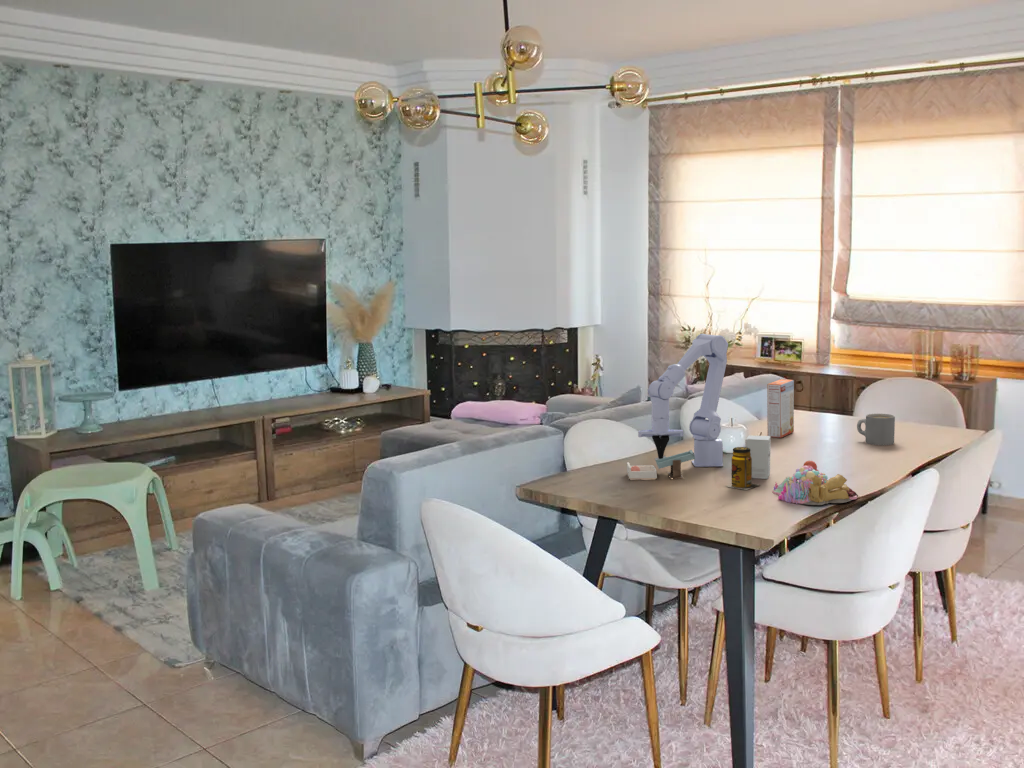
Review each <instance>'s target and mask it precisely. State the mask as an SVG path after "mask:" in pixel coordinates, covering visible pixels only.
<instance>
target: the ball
mask: <svg viewBox="0 0 1024 768" xmlns="http://www.w3.org/2000/svg"><path fill="white" fill-rule="evenodd" d="M632 466H633V467H631V471H640V468H639V467H638V466H639V465H632Z"/></svg>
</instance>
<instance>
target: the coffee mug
mask: <svg viewBox="0 0 1024 768" xmlns="http://www.w3.org/2000/svg"><path fill="white" fill-rule="evenodd" d="M863 423H864V425H865V426H864V427H865V428H864V430H863V429H862V424H863ZM895 427H896V416H895V415H894V414H889V413H869V414H866V415H865V418H860V419H859V420H858V421H857V424H856V429H857V432H858V433H859V434H860V435H862V436H864V439H865V440H864V441H865V442H864V443H866V444H869V445H872V446H873V445H875V446H892V445H894V444H895V431H896V430H895Z"/></svg>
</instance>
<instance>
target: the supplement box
mask: <svg viewBox="0 0 1024 768" xmlns="http://www.w3.org/2000/svg"><path fill="white" fill-rule="evenodd" d="M771 438H772V437H771V436H767V435H747V437H746V438H745V439H744V440H745V446H744V447H747V448H750V450H751V451H750V453H751V455H750V456H751V458H752V479H759V480H761V479H762V480H768V479H769V476H770V474H771Z"/></svg>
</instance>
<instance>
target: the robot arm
mask: <svg viewBox="0 0 1024 768" xmlns="http://www.w3.org/2000/svg"><path fill="white" fill-rule="evenodd" d="M728 347H729V343H728V341H727V340H726V337H724V336H723V335H721V334H718V335H717V334H709V333H707V334H705V333H700V334H698V335H697V336H696V337H695V338H694V339H693V340H692V343H691V346H690V347H689V348H688V349H687V351H686V352H685V353H684V354H683V356H682V357H681V358H680V360H679V361H678V362H677V363H673V364H670V365H668V366H667V369H666V370H665V371H664V372H663V373H662V375H660V376H659V377H658V379H657V380H653V381H652V382H651V383H650V384H649V385H648V389H647V394H648V395H649V398H650V402H651V429H642V430H637V436H638V438H648V437H651V438H652V441H653V443H654V445H655V448H656V451H657V458H659V459H662V458H663V456H665V450H666V448H667V445H668V443H669V441H670V437H684V430H683V429H670V398H671V397H672V396H673V394H674V390H675V389H676V386H678V384H679V383H680V382H681V381H682V380H683V379H684V378H685V376H686V371H687V369H689V368H690V367H691V366H692V365H693V364H694V363H695V362H696V361H697V360H698V359H699V358H700V357H704V358H705V359H706V360H707V362H708V363H709V364H708V365H709V366H708V369H707V373H706V374H707V375H706V379H705V384H704V389H703V393H702V397H701V403H700V407H699V409H698V410H696V411H695V412H694V413H693V416H692V419H691V421H690V423H689V426H688V428H689V432H690V434H691V435H692V438H693V453H694V456H695V459H693V460H691V463H692V465H693V466H694V467H695V468H697V467H699V468H700V467H703V468H705V467H723V466H724V464H723V462H724V458H723V457H724V456H723V455H724V454H723V453H724V451H723V450H724V447H723V446H724V445H723V440H722V438H718V437H719V436H720V433H721V429H722V428H721V421H722V418H721V417H720V416H719V413H718V412H717V411H718V407H719V406H718V405H719V401H720V397H721V392H722V388H723V382H724V378H725V372H726V367H727V364H728V363H727V362H728V357H727V352H728Z"/></svg>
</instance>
